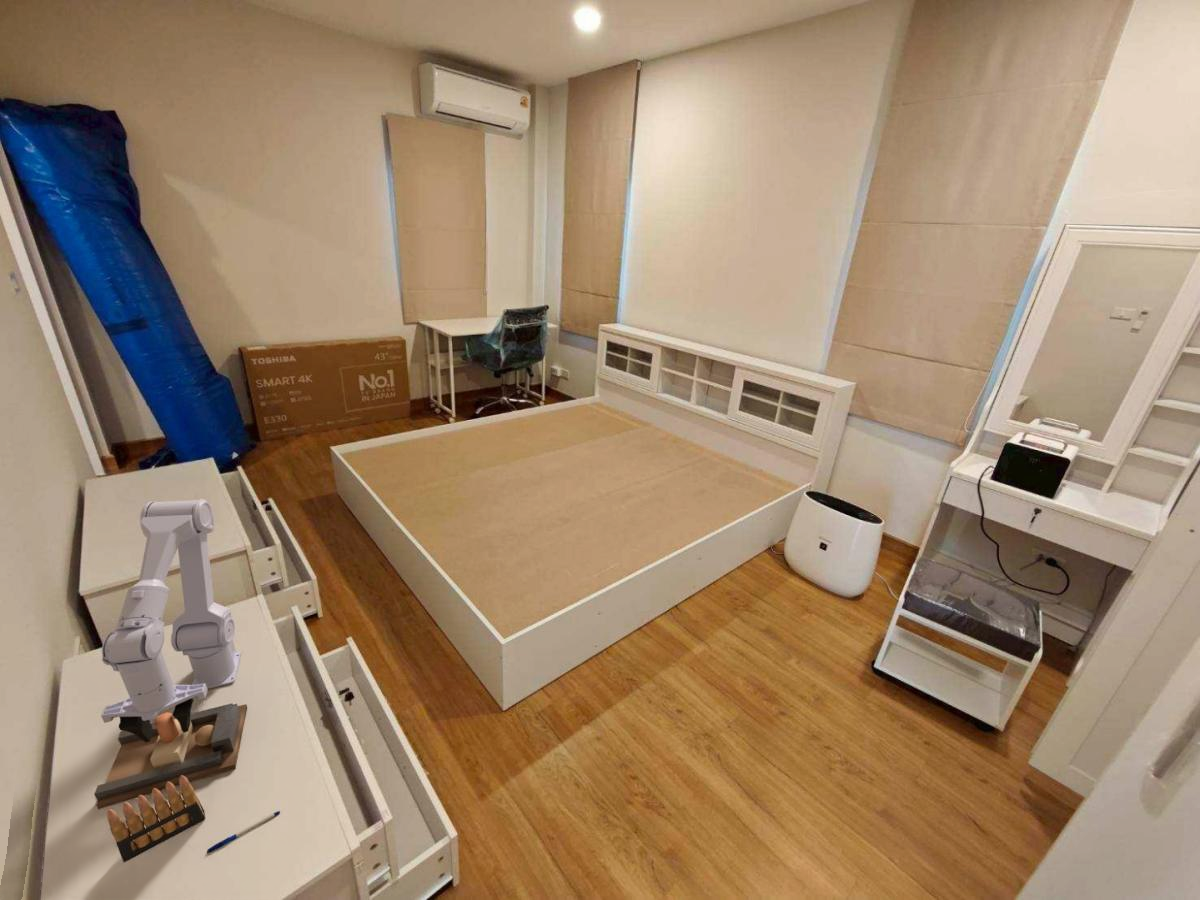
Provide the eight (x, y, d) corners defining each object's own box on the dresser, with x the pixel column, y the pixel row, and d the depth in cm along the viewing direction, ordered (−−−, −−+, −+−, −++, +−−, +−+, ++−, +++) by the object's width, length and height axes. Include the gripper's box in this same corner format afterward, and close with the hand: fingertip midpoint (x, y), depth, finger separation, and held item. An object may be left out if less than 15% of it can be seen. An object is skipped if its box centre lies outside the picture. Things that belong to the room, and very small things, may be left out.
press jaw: (168, 734, 99) (156, 704, 95) (193, 727, 100) (182, 698, 97) (155, 772, 92) (142, 741, 89) (182, 764, 94) (170, 734, 90)
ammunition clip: (204, 810, 89) (187, 767, 84) (205, 819, 88) (188, 776, 83) (123, 852, 82) (100, 808, 77) (123, 862, 81) (100, 819, 76)
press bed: (126, 739, 99) (119, 721, 97) (247, 707, 107) (242, 691, 105) (98, 809, 87) (88, 790, 85) (235, 768, 96) (229, 750, 94)
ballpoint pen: (208, 856, 83) (206, 853, 82) (207, 851, 84) (205, 848, 83) (280, 814, 90) (279, 811, 89) (279, 810, 90) (278, 807, 90)
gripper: (84, 713, 82) (110, 765, 88) (193, 687, 89) (210, 738, 94) (101, 679, 88) (124, 730, 94) (202, 657, 94) (218, 707, 100)
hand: (168, 732), depth 94 cm, fingers open, 5 cm apart
